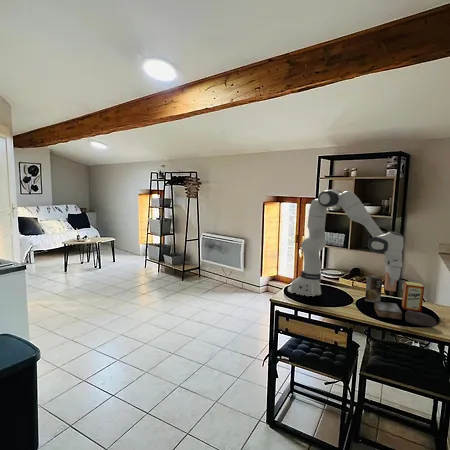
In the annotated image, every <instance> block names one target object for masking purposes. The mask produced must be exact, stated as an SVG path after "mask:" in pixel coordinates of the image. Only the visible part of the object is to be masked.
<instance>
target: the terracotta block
mask: <svg viewBox="0 0 450 450" xmlns="http://www.w3.org/2000/svg"><path fill="white" fill-rule="evenodd" d="M384 279H385V280H384V289H385V291H388V292H396V291H397V283H398V280H395V282H394V285H393V286H392V285H390V281H391V278H390V277H389V273H388V272H387V271H386V272H385V276H384Z"/></svg>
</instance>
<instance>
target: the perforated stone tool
mask: <svg viewBox="0 0 450 450" xmlns="http://www.w3.org/2000/svg"><path fill="white" fill-rule="evenodd" d="M404 319H405V321H406V323H409V324H412V325H417V326H421V327H428V328H429V327H430V328H432V327H435V326H436V325H437V320H436V319H435V318H434V317H433V316H431V315H429V314H426V313H423V312H418V311H411V310H406V312H405V313H404Z"/></svg>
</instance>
